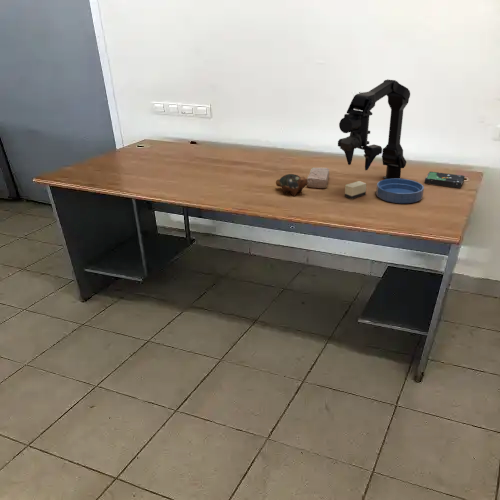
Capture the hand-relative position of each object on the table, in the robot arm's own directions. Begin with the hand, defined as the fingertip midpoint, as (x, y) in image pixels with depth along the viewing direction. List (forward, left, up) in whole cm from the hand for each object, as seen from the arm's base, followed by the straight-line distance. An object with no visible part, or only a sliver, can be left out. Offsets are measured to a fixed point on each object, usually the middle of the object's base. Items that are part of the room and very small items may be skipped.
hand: (357, 167), depth 202 cm
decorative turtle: (-13, -23, -12) cm, 29 cm away
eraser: (0, 0, -12) cm, 12 cm away
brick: (-20, -7, -12) cm, 25 cm away
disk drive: (0, +43, -12) cm, 45 cm away
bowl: (+7, +16, -12) cm, 21 cm away
